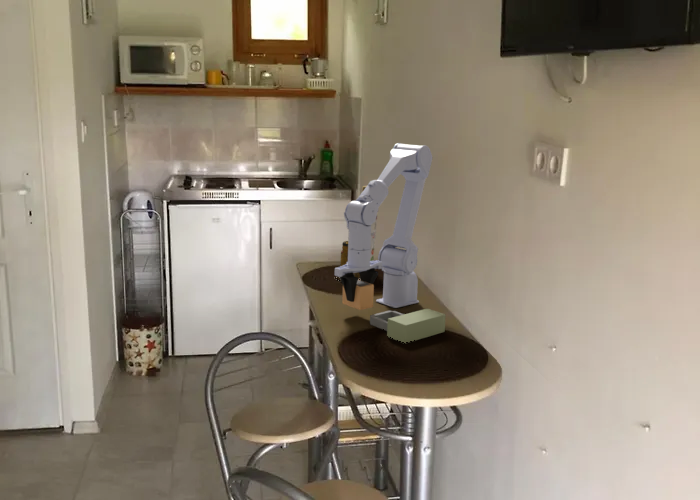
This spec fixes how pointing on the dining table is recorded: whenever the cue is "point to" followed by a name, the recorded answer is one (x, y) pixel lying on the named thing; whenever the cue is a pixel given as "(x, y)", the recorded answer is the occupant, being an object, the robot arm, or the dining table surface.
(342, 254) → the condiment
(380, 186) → the robot arm
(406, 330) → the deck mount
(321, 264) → the dining table surface
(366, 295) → the orange box grey panel
